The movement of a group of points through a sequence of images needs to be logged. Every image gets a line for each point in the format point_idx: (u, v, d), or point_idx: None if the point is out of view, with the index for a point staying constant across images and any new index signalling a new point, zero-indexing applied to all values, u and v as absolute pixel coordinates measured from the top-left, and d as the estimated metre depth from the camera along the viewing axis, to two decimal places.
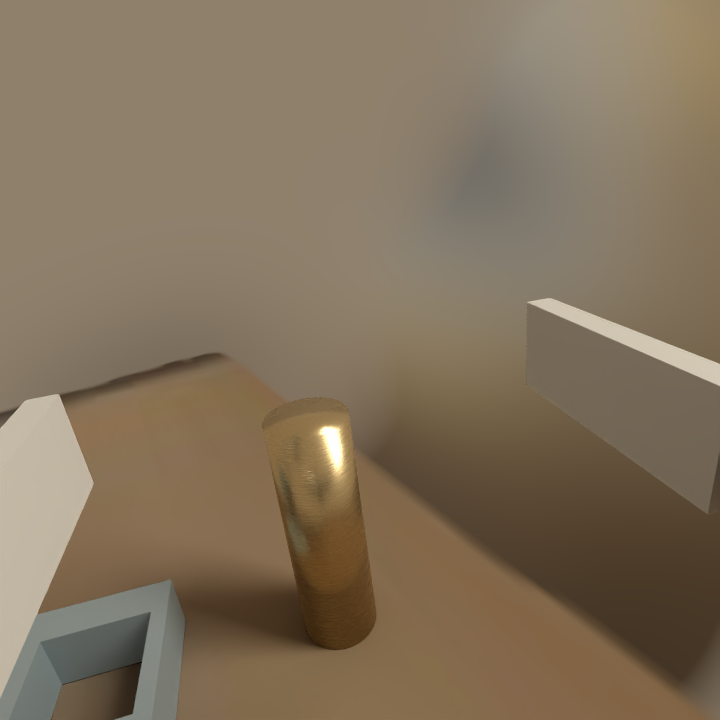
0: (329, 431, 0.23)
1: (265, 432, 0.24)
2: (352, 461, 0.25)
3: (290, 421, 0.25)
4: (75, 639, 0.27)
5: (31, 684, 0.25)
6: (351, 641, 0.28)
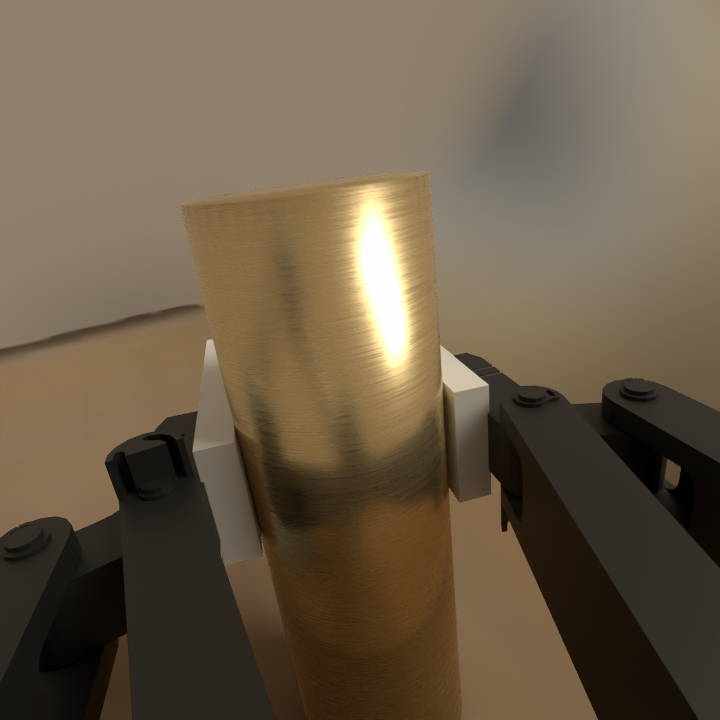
0: (383, 181, 0.07)
1: (184, 205, 0.08)
2: (436, 314, 0.09)
3: (263, 192, 0.09)
4: None
5: None
6: None
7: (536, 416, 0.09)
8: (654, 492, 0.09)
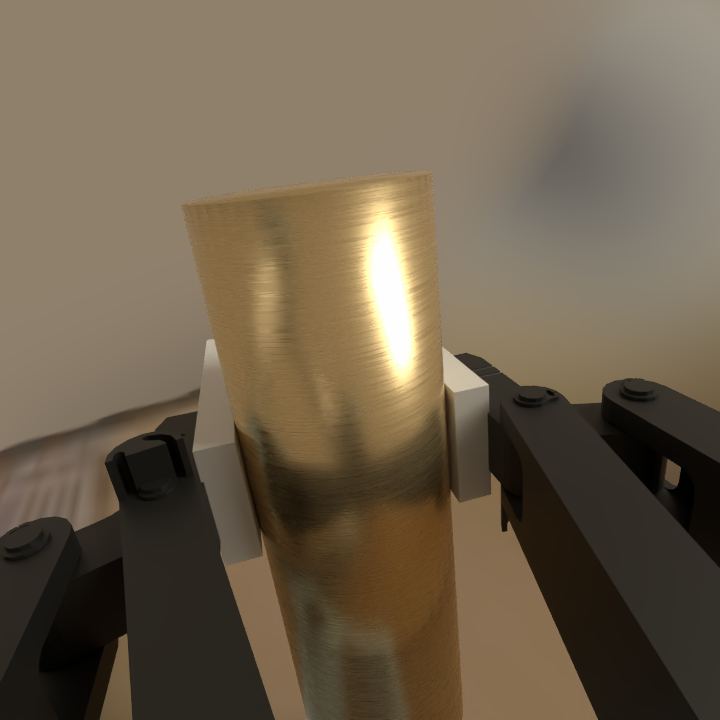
0: (385, 181, 0.07)
1: (186, 205, 0.08)
2: (438, 314, 0.09)
3: (265, 192, 0.09)
4: None
5: None
6: None
7: (536, 416, 0.09)
8: (654, 492, 0.09)
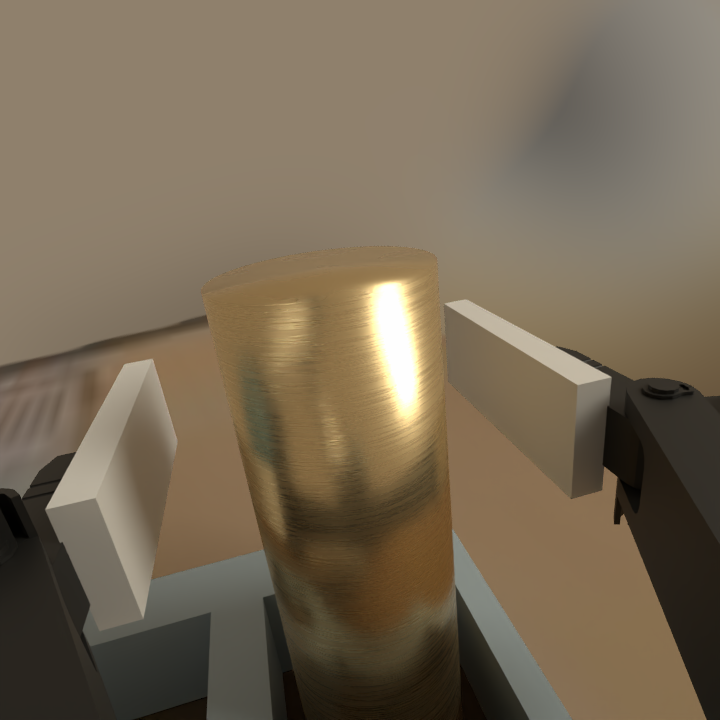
0: (394, 281, 0.08)
1: (206, 296, 0.08)
2: (442, 388, 0.10)
3: (279, 276, 0.09)
4: None
5: (271, 669, 0.14)
6: None
7: (666, 408, 0.09)
8: None
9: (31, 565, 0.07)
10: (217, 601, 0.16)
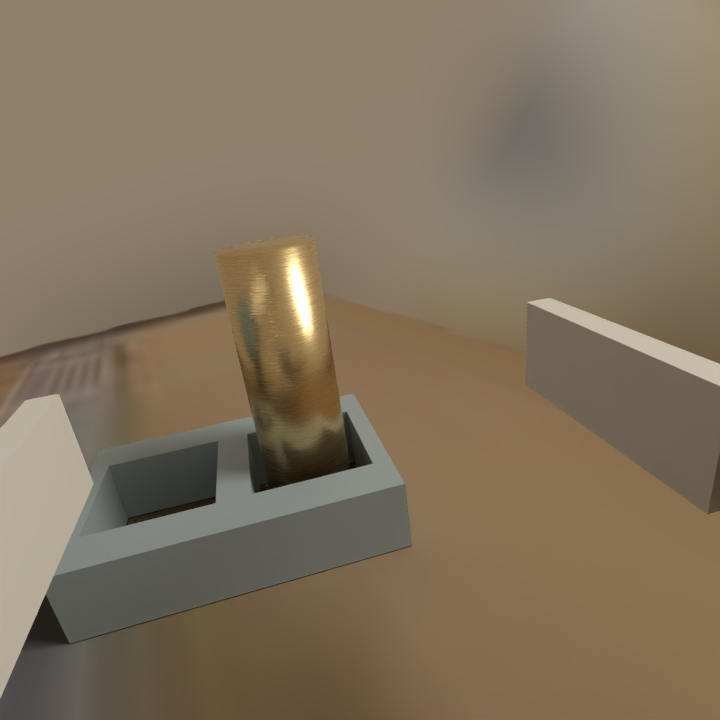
0: (289, 247, 0.20)
1: (216, 254, 0.21)
2: (319, 296, 0.22)
3: (247, 248, 0.22)
4: None
5: (250, 462, 0.26)
6: None
7: None
8: None
9: None
10: (221, 437, 0.28)
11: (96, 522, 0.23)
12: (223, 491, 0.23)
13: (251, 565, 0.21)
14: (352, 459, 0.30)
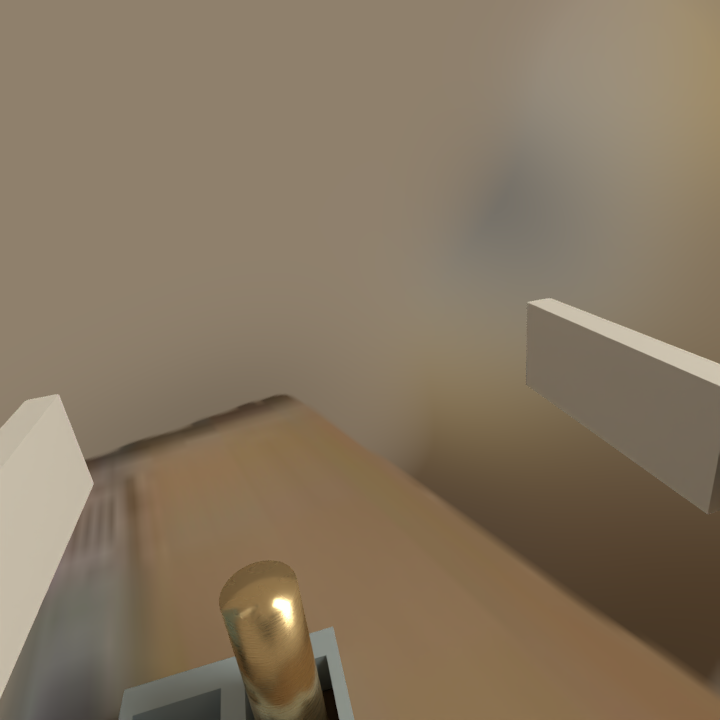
0: (277, 611, 0.26)
1: (221, 609, 0.27)
2: (301, 627, 0.28)
3: (245, 594, 0.28)
4: None
5: (247, 715, 0.33)
6: None
7: None
8: None
9: None
10: (223, 682, 0.34)
11: None
12: None
13: None
14: (331, 686, 0.36)
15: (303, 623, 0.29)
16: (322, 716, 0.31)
